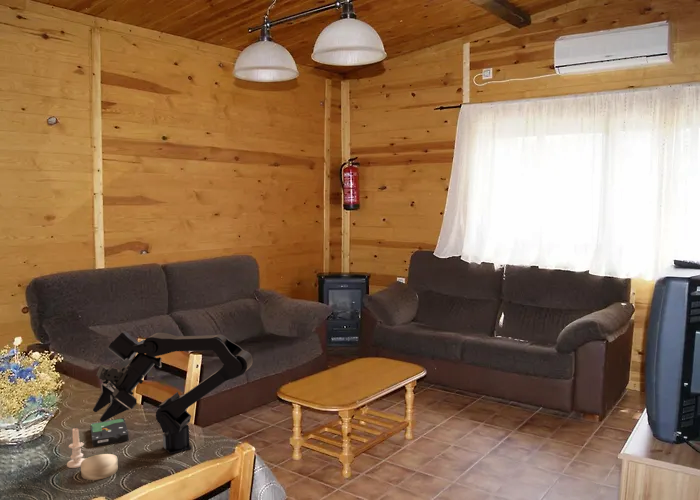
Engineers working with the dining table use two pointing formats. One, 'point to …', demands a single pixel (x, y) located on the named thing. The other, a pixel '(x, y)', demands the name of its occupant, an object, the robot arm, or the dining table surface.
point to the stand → (99, 466)
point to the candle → (75, 451)
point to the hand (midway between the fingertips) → (97, 416)
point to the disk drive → (109, 432)
